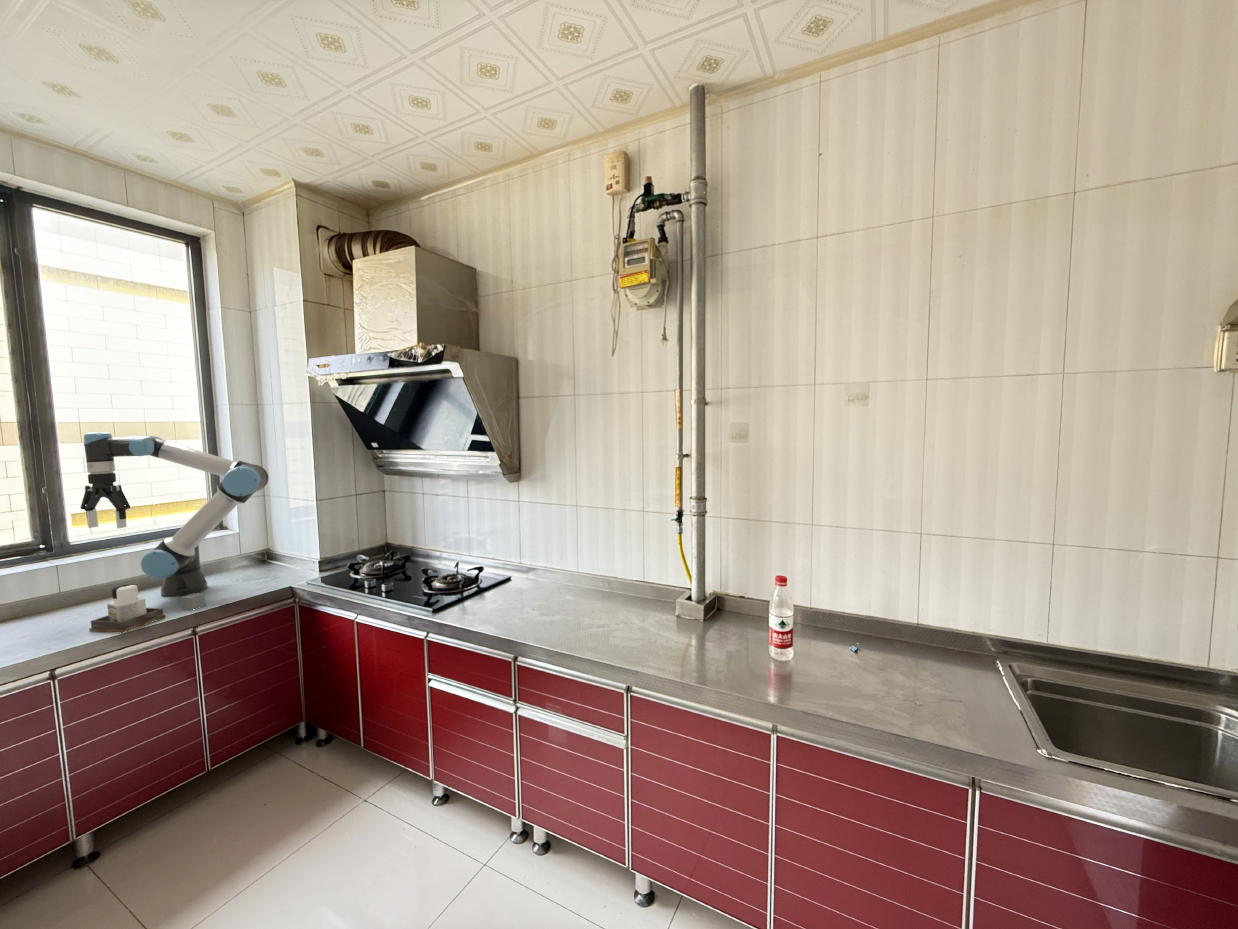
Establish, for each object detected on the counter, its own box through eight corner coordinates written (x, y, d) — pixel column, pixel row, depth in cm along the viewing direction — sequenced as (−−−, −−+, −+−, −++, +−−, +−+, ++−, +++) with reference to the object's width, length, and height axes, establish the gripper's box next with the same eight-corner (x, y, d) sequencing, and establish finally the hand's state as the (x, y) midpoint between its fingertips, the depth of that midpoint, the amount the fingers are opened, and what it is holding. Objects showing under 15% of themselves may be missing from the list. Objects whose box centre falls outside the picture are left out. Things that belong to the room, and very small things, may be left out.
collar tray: (134, 616, 190) (133, 606, 190) (165, 617, 188) (164, 608, 187) (89, 631, 176) (88, 621, 176) (122, 633, 174) (121, 623, 173)
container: (108, 623, 180) (104, 587, 179) (137, 616, 187) (133, 581, 186) (119, 627, 177) (115, 590, 176) (147, 619, 184) (144, 583, 183)
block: (194, 605, 200) (193, 593, 200) (205, 606, 199) (204, 593, 199) (181, 610, 195) (180, 597, 195) (192, 610, 194) (191, 598, 194)
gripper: (63, 474, 194) (69, 529, 196) (116, 473, 190) (122, 529, 191) (87, 472, 201) (93, 525, 203) (139, 471, 197) (144, 525, 199)
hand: (107, 527), depth 197 cm, fingers open, 13 cm apart
